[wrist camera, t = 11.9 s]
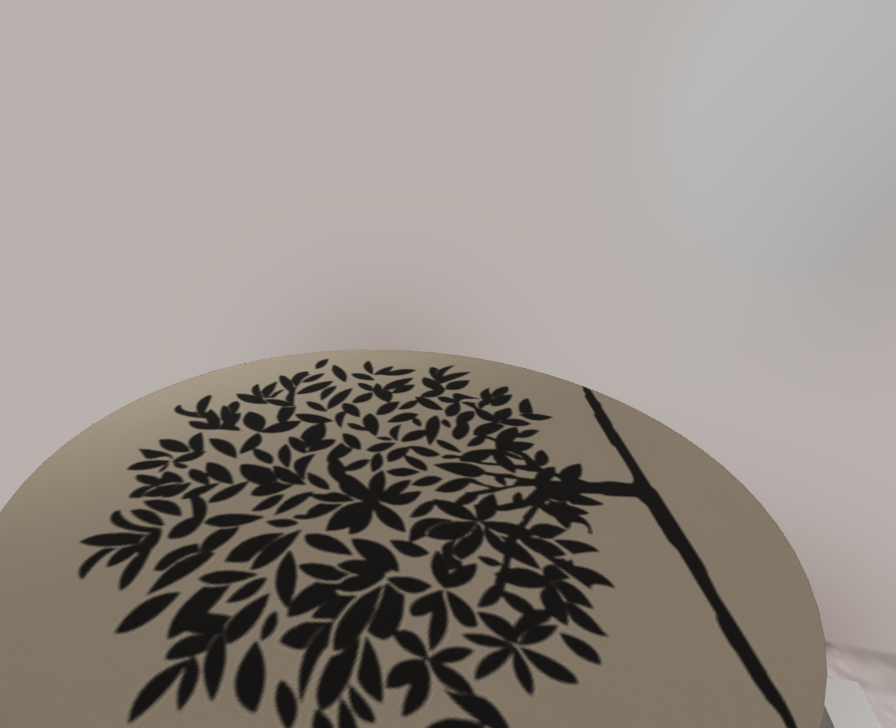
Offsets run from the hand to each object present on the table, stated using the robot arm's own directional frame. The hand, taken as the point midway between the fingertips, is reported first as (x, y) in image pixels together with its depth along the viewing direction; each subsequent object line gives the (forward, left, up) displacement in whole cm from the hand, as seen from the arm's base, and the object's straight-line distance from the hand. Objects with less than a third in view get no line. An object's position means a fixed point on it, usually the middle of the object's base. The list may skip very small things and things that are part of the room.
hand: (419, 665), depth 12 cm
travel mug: (+3, +2, -12) cm, 13 cm away
